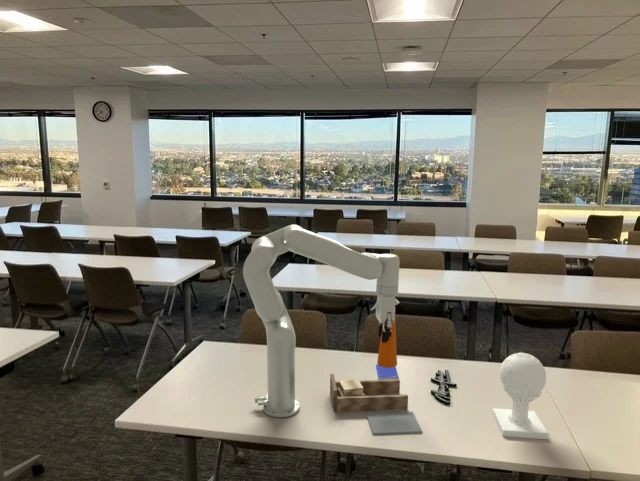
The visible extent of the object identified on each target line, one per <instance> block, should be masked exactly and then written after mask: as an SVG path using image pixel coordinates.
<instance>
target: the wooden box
mask: <svg viewBox="0 0 640 481" xmlns="http://www.w3.org/2000/svg"><path fill="white" fill-rule="evenodd" d="M329 378H330V379H329V389H330V390H329V395H330V401H331V406H332V410H333V413H346V412H377V411H381V412H382V411H406V410H407V411H408V408H409V407H408V406H409V395H408V394H400V392H401V391H400V390H401V389H400V388H401V387H400V386H401V385H400V384H401V380H400V378H399V379H396V380H378V379H369V380H366V379H365V380H359V382H360V383H361V385H362V386H363V393H364V395H365V396H348V397H337V393H338V388H339V381H340V380H336V378H335V374H334V373H329Z"/></svg>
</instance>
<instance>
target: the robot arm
mask: <svg viewBox="0 0 640 481" xmlns="http://www.w3.org/2000/svg"><path fill="white" fill-rule="evenodd" d="M287 252H292V253H294V254H297V255H300V256H303V257H306V258H308V259H312V260H314V261H317V262H320V263H323V264H325V265H328V266H330V267H332V268H336V269H338V270H340V271H343V272H346V273H348V274H350V275H353V276H356V277H358V278H361V279H365V280H370V281H372V280H376V283H375V284H376V285H375V286H376V288H375V289H376V290H375V291H376V293H377V294H378V295H377V294H376V293H375V294H376V296H377V297H378V299H377V298H376V301H377V300H378V305H377V307H376V308H375V317H376V319H377V321H378V337H379V338H381V334H382V342H383V343H387V341H389V336H390V337H391V328H392V324H393V323H394V319H395V320H396V305H395V298H396V296H398V295H399V282H400V281H399V280H400V279H399V278H400V277H399V276H400V260H401V259H400V257H399V255H397V254H395V253H381V254H380V253H373V252H361V253H360V252H358V251H356V250H353V249H351V248H349V247H347V246H346V245H344V244H342V243H340V242H339V241H338V240H335V239H332V238H330V237H327V236H323V235H321V234H319V233H315V232H313V231H311V230H307V229H305V228H304V227H302V226H300V225H298V224H289V225H286V226H285V227H281V228H280V229H277V230H275V231H271V232H270V233H267V234H265V235H262V236H261V237H258V238H256V240H254V241H253V243H252V245H251V251H250V253H249V254H248V255H247V256H246V259H245V261H244V263H243V268H242V274H243V280H244V282H245V285H246V288H247V290H248V294H249V295H250V298H251V301H252V303H253V305H254V309H255V312H256V315H258V317H259V318H260V319H261V321H262V324H263V326H264V328H265V333H266V347H267V348H266V368H267V371H266V372H267V376H266V378H267V393H266V395H263V396H254V403H255V404H257V406H262V407H263V409H262V410H263V412H264V413H265V414H266V415H267V416H269V417H272V418H273V417H274V418H288V417H292V416H294V415H295V414H297V413H298V412H299V411H300V402H299V401H298V400H296V344H297V343H296V342H297V340H296V339H297V338H296V333H295V329H294V326H293V323H292V320H291V316H290V315H289V313H288V309H287V308H286V305H285V303H284V300H283V297H282V295H281V293H280V292H279V291H278V290H277V289H276V287H275V285H274V282H273V279H272V276H271V274H270V269H271V267H272V266H273V264H275V262H276V260H277V257H278V256H281V255H283V254H285V253H287ZM391 318H392V320H393V321H391ZM385 321H387V323H385ZM385 325H387V326H386V327H385ZM382 327H383V331H382Z"/></svg>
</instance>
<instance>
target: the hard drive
mask: <svg viewBox="0 0 640 481" xmlns="http://www.w3.org/2000/svg"><path fill="white" fill-rule="evenodd" d="M375 368H376V374H377V380H396V379H399V380H400V377H399V374H398V370H397V366H395V367H393V368H384V367H381V366H379V365H378V364H375Z"/></svg>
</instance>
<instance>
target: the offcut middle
mask: <svg viewBox="0 0 640 481" xmlns="http://www.w3.org/2000/svg"><path fill="white" fill-rule="evenodd" d="M338 396H339V397H348V396H344V395H343V393H342V392H341V390H340V388H338ZM353 396H366V394H364V393H363V394H362V395H353Z"/></svg>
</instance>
